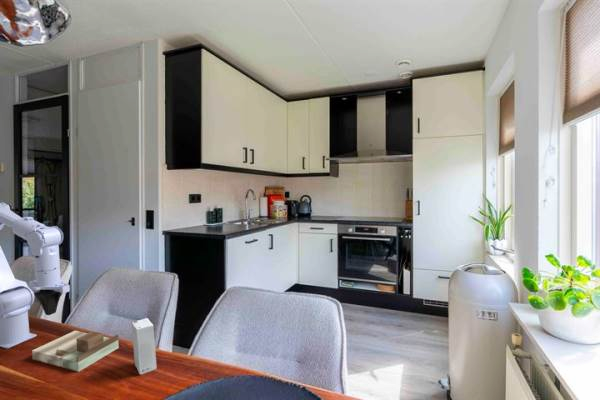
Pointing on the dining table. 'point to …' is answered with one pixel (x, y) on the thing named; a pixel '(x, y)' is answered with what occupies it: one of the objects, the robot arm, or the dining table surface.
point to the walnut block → (89, 341)
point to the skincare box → (144, 346)
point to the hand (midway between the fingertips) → (50, 313)
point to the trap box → (73, 351)
